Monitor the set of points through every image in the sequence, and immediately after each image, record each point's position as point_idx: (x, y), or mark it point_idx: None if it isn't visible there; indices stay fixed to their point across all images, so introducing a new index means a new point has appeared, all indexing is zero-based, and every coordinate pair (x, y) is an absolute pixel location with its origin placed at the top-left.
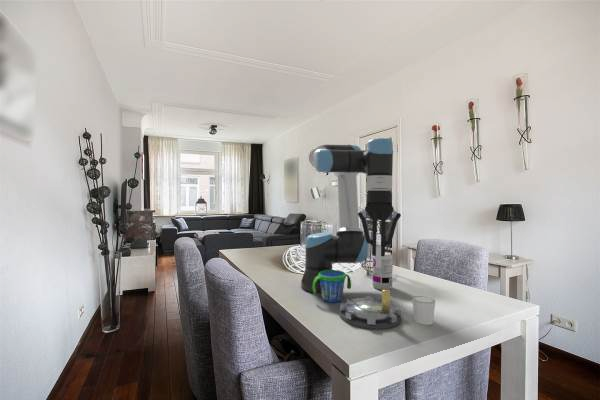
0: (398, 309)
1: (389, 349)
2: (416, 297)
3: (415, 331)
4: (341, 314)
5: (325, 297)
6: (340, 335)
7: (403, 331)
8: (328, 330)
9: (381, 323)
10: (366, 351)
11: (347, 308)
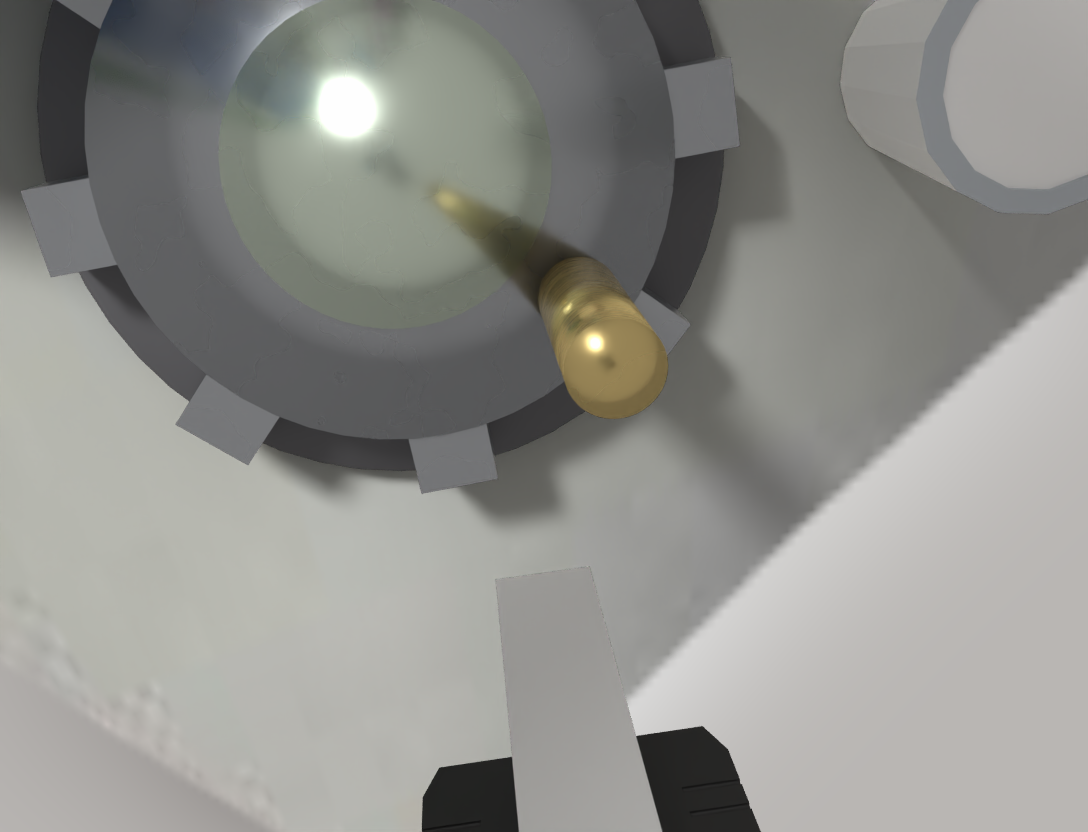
0: (710, 137)
1: None
2: (975, 18)
3: (823, 344)
4: (118, 316)
5: None
6: (247, 643)
7: (724, 384)
8: (124, 604)
9: None
10: None
11: (165, 334)
